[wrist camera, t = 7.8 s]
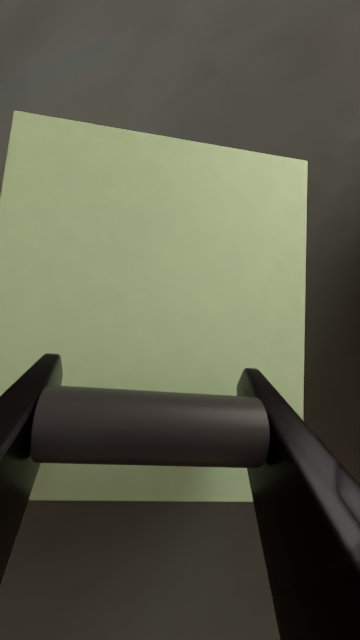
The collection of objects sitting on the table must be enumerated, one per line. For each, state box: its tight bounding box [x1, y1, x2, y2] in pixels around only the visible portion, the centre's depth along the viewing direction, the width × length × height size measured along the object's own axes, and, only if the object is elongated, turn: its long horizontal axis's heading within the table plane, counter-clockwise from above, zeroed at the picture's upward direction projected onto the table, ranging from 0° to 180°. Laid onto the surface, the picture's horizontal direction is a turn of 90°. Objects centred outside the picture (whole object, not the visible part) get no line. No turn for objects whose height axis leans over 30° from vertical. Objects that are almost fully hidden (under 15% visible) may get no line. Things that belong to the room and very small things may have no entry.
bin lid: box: [0, 111, 307, 502], centre depth 10 cm, size 13×12×4 cm
